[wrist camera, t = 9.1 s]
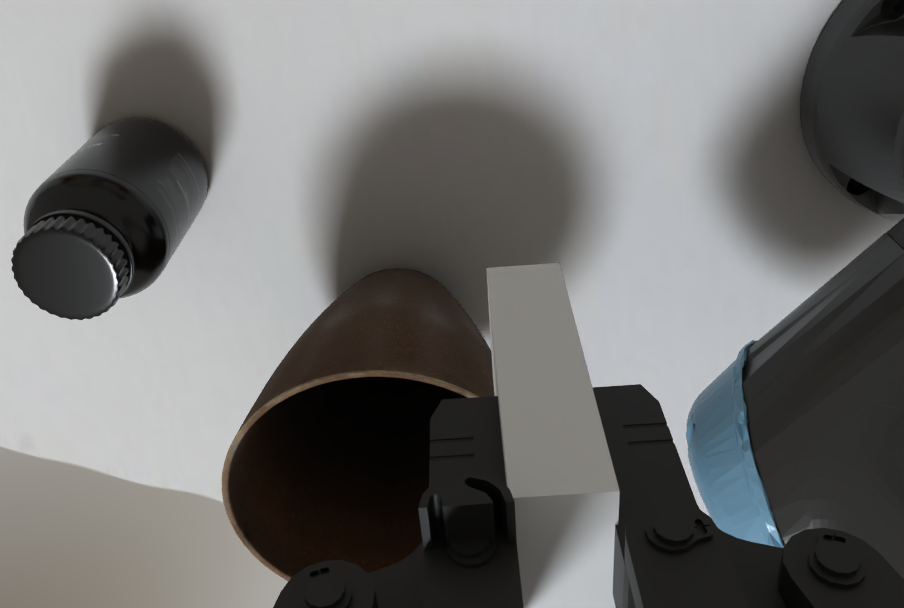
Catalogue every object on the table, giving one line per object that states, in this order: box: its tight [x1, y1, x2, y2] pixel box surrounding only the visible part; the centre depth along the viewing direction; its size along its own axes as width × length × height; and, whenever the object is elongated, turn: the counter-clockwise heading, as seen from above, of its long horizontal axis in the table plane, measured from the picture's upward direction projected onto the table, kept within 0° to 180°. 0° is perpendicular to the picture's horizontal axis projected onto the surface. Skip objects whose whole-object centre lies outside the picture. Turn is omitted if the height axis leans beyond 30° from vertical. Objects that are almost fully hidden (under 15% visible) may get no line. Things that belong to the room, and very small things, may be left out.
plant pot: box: [222, 269, 495, 582], centre depth 45 cm, size 15×15×16 cm
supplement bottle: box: [11, 118, 208, 320], centre depth 41 cm, size 7×7×12 cm
